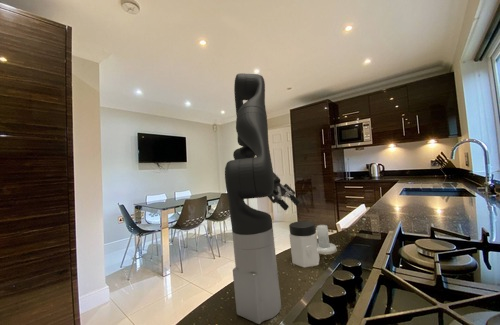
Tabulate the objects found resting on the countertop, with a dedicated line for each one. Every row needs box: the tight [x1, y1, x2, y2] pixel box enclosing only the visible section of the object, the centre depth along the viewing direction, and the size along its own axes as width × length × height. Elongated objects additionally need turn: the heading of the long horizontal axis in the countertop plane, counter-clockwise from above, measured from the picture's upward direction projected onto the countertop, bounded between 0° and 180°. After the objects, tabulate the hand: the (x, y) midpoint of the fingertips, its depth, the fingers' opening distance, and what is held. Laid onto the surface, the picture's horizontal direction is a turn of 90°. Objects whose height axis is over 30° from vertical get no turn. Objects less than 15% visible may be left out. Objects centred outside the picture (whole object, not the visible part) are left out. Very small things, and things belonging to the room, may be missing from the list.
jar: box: [288, 220, 320, 268], centre depth 66 cm, size 9×8×12 cm
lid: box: [316, 224, 337, 255], centre depth 73 cm, size 8×8×8 cm
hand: (293, 206), depth 81 cm, fingers open, 8 cm apart
